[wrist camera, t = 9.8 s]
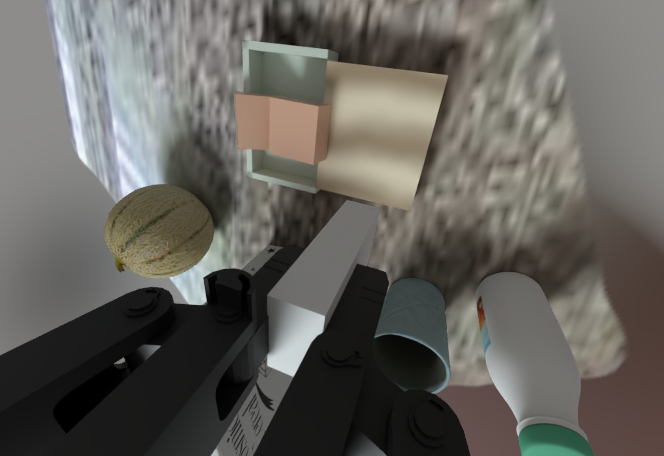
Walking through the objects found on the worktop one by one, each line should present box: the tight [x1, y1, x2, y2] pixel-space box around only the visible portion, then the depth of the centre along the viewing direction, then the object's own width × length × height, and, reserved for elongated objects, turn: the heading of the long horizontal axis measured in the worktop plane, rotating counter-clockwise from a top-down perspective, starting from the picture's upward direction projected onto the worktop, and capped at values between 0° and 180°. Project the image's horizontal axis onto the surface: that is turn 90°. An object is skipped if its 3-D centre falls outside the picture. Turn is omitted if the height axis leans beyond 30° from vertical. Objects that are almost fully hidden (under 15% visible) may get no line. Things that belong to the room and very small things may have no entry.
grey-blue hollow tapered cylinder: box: [372, 278, 451, 394], centre depth 38 cm, size 10×10×12 cm
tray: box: [242, 40, 339, 194], centre depth 35 cm, size 16×10×4 cm, turn 173°
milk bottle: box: [476, 272, 595, 456], centre depth 29 cm, size 8×8×20 cm
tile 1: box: [269, 97, 332, 165], centre depth 31 cm, size 6×6×3 cm
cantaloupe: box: [104, 184, 214, 278], centre depth 44 cm, size 15×15×15 cm
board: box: [316, 61, 448, 211], centre depth 32 cm, size 14×12×4 cm
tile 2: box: [234, 91, 286, 150], centre depth 34 cm, size 6×6×3 cm
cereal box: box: [203, 245, 293, 456], centre depth 41 cm, size 22×8×25 cm, turn 1°
